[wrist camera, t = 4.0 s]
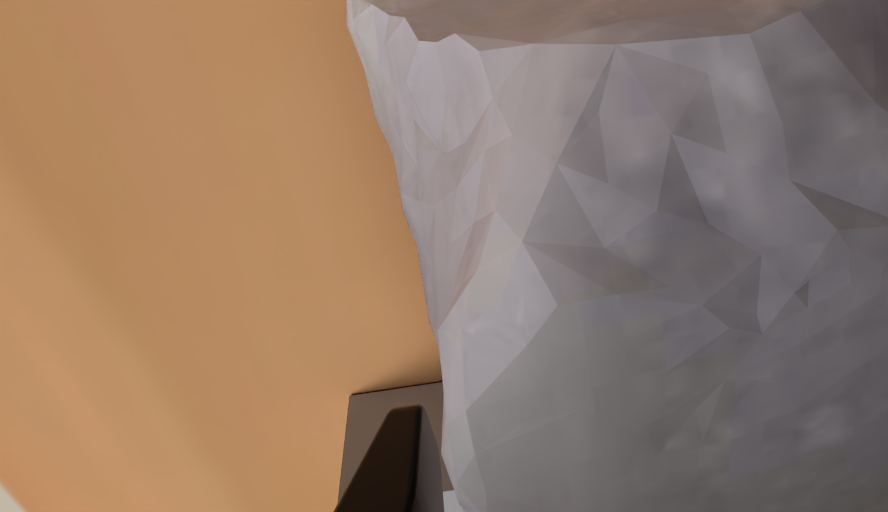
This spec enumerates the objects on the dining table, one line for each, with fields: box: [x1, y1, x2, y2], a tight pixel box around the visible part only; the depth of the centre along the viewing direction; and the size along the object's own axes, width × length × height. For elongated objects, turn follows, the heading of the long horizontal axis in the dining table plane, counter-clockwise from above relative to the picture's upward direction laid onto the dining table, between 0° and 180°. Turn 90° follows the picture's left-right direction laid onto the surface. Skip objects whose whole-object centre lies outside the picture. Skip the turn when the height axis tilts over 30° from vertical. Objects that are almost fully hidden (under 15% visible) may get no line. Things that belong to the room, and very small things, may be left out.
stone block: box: [347, 0, 888, 512], centre depth 10 cm, size 12×5×10 cm, turn 10°
